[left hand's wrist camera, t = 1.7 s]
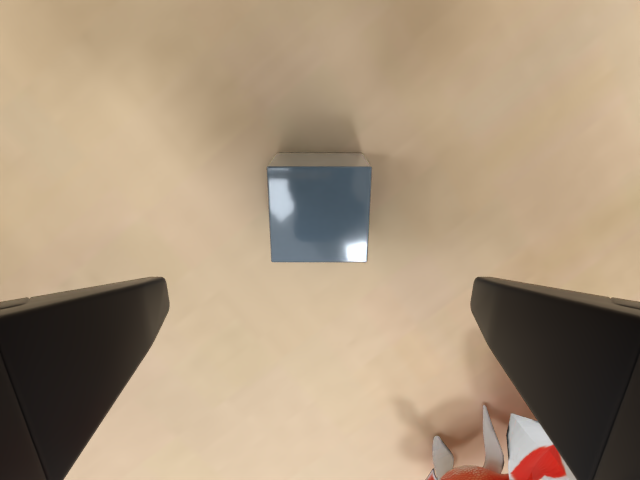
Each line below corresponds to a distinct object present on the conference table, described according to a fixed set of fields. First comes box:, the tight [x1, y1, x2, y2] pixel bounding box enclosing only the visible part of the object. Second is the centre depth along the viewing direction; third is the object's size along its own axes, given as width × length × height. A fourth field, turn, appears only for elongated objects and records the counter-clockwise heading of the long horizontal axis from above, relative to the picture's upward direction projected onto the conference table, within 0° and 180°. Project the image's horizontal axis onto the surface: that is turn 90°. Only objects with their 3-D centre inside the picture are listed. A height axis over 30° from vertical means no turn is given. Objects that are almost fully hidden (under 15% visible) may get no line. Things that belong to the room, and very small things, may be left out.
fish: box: [425, 405, 576, 480], centre depth 24 cm, size 11×16×10 cm
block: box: [267, 153, 372, 262], centre depth 20 cm, size 5×5×4 cm
